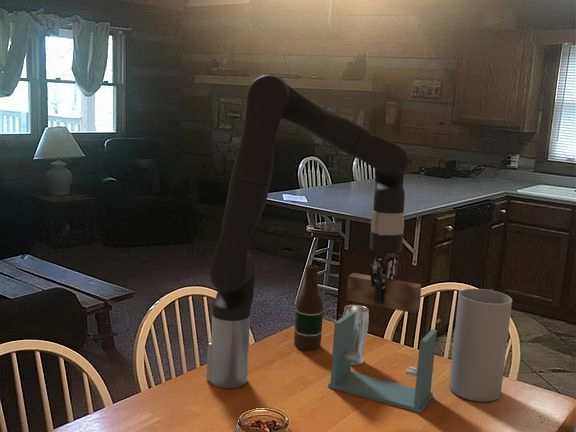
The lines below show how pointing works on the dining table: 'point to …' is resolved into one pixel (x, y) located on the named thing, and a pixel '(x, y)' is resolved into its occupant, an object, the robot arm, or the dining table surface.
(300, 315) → the beer bottle
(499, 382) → the cylinder vase
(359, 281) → the walnut plank
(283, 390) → the dining table surface
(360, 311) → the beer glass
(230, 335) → the robot arm
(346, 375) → the shelf stand
